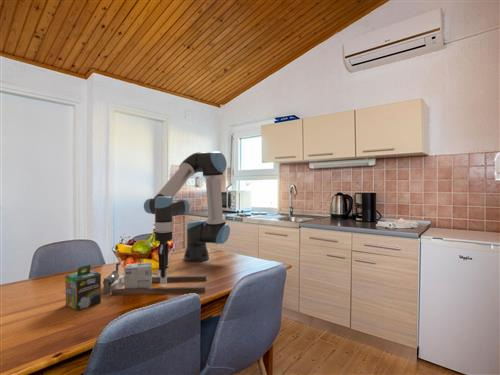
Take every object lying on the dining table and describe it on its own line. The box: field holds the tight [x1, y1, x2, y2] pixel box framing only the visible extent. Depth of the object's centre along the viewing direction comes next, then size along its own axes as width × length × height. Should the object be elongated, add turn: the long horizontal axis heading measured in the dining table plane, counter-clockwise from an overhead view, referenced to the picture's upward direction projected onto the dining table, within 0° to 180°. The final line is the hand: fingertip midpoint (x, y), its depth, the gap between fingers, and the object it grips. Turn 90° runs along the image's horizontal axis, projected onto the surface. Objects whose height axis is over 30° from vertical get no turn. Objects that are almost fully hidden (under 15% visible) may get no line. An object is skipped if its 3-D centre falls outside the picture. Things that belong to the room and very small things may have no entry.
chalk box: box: [64, 264, 102, 312], centre depth 109 cm, size 9×9×15 cm
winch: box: [102, 262, 121, 294], centre depth 128 cm, size 16×4×9 cm, turn 6°
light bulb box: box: [124, 261, 153, 289], centre depth 125 cm, size 11×7×11 cm, turn 106°
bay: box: [109, 272, 207, 296], centre depth 128 cm, size 16×38×4 cm, turn 96°
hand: (163, 283), depth 128 cm, fingers closed
